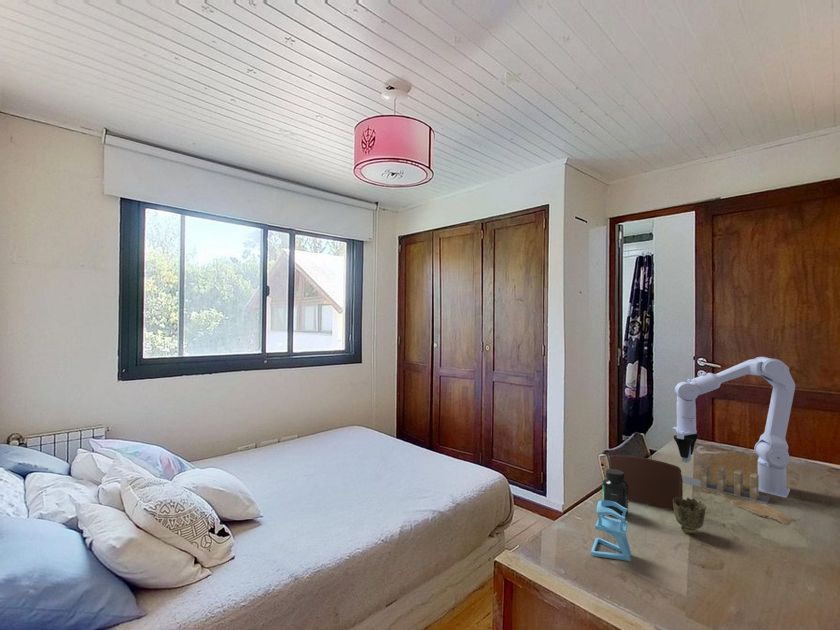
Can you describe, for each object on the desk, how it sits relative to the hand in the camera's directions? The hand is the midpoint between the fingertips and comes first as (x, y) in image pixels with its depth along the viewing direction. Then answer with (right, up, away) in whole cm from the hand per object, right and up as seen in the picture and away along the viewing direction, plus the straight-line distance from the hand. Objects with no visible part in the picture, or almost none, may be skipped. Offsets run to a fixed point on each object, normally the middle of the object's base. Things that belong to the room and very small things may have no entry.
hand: (686, 455), depth 143 cm
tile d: (+12, -9, -14) cm, 20 cm away
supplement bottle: (-36, -9, -23) cm, 44 cm away
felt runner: (+6, -9, -6) cm, 13 cm away
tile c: (+10, -9, -11) cm, 17 cm away
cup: (-22, -9, -34) cm, 41 cm away
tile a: (+4, -9, -4) cm, 10 cm away
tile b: (+7, -9, -7) cm, 13 cm away
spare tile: (0, -2, 0) cm, 2 cm away
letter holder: (-22, -9, -13) cm, 27 cm away
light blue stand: (-47, -9, -44) cm, 65 cm away
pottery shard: (+7, -10, -23) cm, 26 cm away
